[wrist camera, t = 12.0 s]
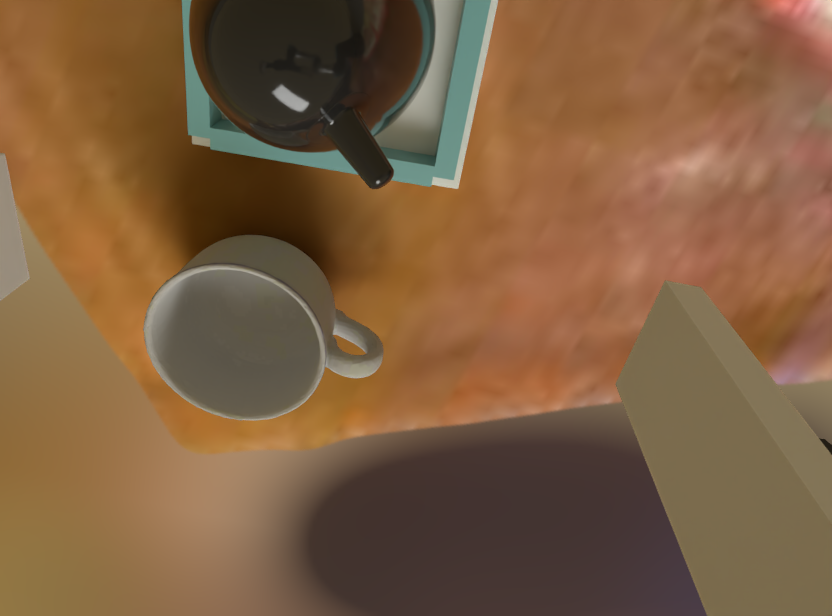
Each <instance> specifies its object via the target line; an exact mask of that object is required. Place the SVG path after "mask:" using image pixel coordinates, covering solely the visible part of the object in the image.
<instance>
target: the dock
mask: <svg viewBox="0 0 832 616" xmlns="http://www.w3.org/2000/svg"><path fill="white" fill-rule="evenodd" d="M497 4H498V0H434V5H435V14H436V38H435V47H434V52H433V57H432V61H431V65H430V68H429V71H428V74H427V76H426V79H425V81H424V83H423V85H422V87H421V89H420V91H419V92H418V94H417V96H416V97H415V99H414V100H413V102H412V103H411V104H410V106H409V107H408V108H407V109H406V110H405V112H404V113H403V114H402V115H401V116H400V117H399V118H398V119H397V120H396V121H395V122H394V123H392V124H391V125H390V126H389V127H388V128H386V129H385V130H384V131H382V132H381V133H380V134H378V135H376V136H375V137H374V138H375V139H376V141H377V143H378V144H379V146H380V148H381V149H382V151H383V152H384V154H385V156H386V157H387V159H388V161H389V162H390V164H391V165H392V167H393V169H394V176H393V178H392V179H391V180H394V181H399V182H405V183H411V184H417V185H423V186H429V187H431V185H437V186H443V187H449V188H455V189H458V187H459V182H460V177H461V173H462V168H463V163H464V158H465V154H466V149H467V144H468V140H469V135H470V130H471V126H472V121H473V116H474V112H475V107H476V102H477V97H478V93H479V88H480V83H481V79H482V74H483V69H484V65H485V60H486V55H487V51H488V46H489V41H490V36H491V32H492V27H493V22H494V18H495V13H496V8H497ZM190 5H191V0H182V15H183V36H184V58H185V79H186V100H187V122H188V135H191V136H192V144H196V145H202V146H208V147H210V149H211V150H217V151H223V152H229V153H235V154H240V155H246V156H252V157H258V158H264V159H270V160H276V161H282V162H288V163H293V164H299V165H305V166H311V167H317V168H323V169H329V170H335V171H341V172H346V173H352V174H358V173H357V172H356V171H355V170H354V168H353V167H352V166H351V165H350V164H349V163H348V161H347V160H346V159H345V158H344V157H343V155H342V154H341V153H340V152H339V151H334V152H325V153H304V152H294V151H288V150H284V149H280V148H276V147H273V146H270V145H267V144H265V143H262V142H260V141H258V140H256V139H254V138H252V137H251V136H249V135H247V134H246V133H244V132H243V131H241V130H240V129H239V128H237V127H236V126H235V125H234V124H232V123H231V122H230V121H229V120H228V119H227V118H226V117H225V116H224V115H223V114H222V113H221V112H220V111H219V109H218V108H217V107H216V106H215V104H214V103H213V102H212V100H211V99H210V97H209V96H208V94H207V92H206V91H205V89H204V87H203V85H202V83H201V81H200V78H199V76H198V73H197V71H196V68H195V65H194V61H193V57H192V52H191V46H190V38H189V14H190ZM358 175H359V174H358Z"/></svg>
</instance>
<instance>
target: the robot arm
mask: <svg viewBox="0 0 832 616" xmlns="http://www.w3.org/2000/svg"><path fill="white" fill-rule="evenodd" d="M27 280H29V272H28V267H27V262H26V257H25V252H24V247H23V242H22V237H21V232H20V227H19V223H18V217H17V212H16V207H15V202H14V197H13V192H12V187H11V182H10V177H9V172H8V167H7V162H6V157H5V154H3V153H0V301H1V300H2V299H3V298H5V297H6V296H7V295H9V294H10V293H11V292H13V291H14V290H15V289H17V288H18V287H19V286H21V285H22V284H23V283H25V282H26V281H27ZM616 387H617V389H618V392H619V395H620V397H621V400H622V402H623V405H624V407H625V410H626V412H627V415H628V417H629V420H630V422H631V425H632V427H633V430H634V432H635V435H636V437H637V440H638V442H639V445H640V447H641V450H642V453H643V455H644V458H645V460H646V462H647V465H648V467H649V470H650V473H651V475H652V478H653V480H654V483H655V485H656V488H657V490H658V493H659V495H660V498H661V500H662V503H663V505H664V508H665V510H666V513H667V515H668V518H669V520H670V523H671V525H672V528H673V531H674V533H675V536H676V538H677V541H678V543H679V546H680V548H681V551H682V553H683V556H684V558H685V561H686V563H687V566H688V568H689V571H690V573H691V576H692V579H693V581H694V584H695V586H696V589H697V591H698V594H699V596H700V599H701V601H702V604H703V606H704V609H705V611H706V614H707V616H832V445H831V444H830V443H828V442H827V441H826V440H825V439H820V438H818V437H817V435H816V434H815V433H814V432H813V430H812V429H811V428H810V426H809V425H808V424H807V423H806V421H805V420H804V419H803V417H802V416H801V415H800V414H799V412H798V411H797V410H796V409H795V407H794V406H793V405H792V403H791V402H790V401H789V400H788V398H787V397H786V396H785V394H784V393H783V392H782V391H781V389H780V388H779V387H778V385H777V384H776V383H775V381H774V380H773V379H772V378H771V376H770V375H769V374H768V373H767V371H766V370H765V369H764V367H763V366H762V365H761V364H760V362H759V361H758V360H757V358H756V357H755V356H754V355H753V353H752V352H751V351H750V349H749V348H748V347H747V346H746V344H745V343H744V342H743V340H742V339H741V338H740V337H739V335H738V334H737V333H736V331H735V330H734V329H733V328H732V326H731V325H730V324H729V322H728V321H727V320H726V319H725V317H724V316H723V315H722V314H721V312H720V311H719V310H718V308H717V307H716V306H715V305H714V303H713V302H712V301H711V299H710V298H709V297H708V296H707V294H706V293H705V292H704V290H703V289H702V288H701V287H697V286H691V285H686V284H681V283H676V282H671V281H665V282H664V284H663V286H662V288H661V290H660V292H659V294H658V296H657V298H656V301H655V303H654V305H653V307H652V309H651V311H650V313H649V315H648V317H647V319H646V321H645V324H644V326H643V328H642V330H641V332H640V334H639V336H638V338H637V340H636V342H635V344H634V347H633V349H632V351H631V353H630V355H629V357H628V359H627V361H626V363H625V365H624V367H623V370H622V372H621V374H620V376H619V378H618V380H617V382H616Z"/></svg>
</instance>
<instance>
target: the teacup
mask: <svg viewBox="0 0 832 616" xmlns="http://www.w3.org/2000/svg"><path fill="white" fill-rule="evenodd" d="M143 330H144V337H145V344H146V348H147V352H148V354H149V356H150V359H151V361H152V364H153V366H154V367H155V369H156V370H157V372H158V373H159V375H160V376H161V377H162V379H163V380H164V381H165V382H166V383H167V385H169V386H170V387H171V388H172V389H173V390H174V391H175V392H176V393H178V394H179V395H180V396H181V397H183V398H184V399H185V400H186V401H188V402H190V403H192V404H193V405H195V406H196V407H199V408H201V409H203V410H204V411H207V412H209V413H212V414H215V415H218V416H221V417H225V418H230V419H237V420H264V419H271V418H275V417H278V416H281V415H283V414H286V413H289V412H291V411H292V410H294V409H296V408H298V407H299V406H300V405H301V404H303V403H304V402H305V401H306V400H307V399H308V398H309V397H310V396H311V395H312V394H313V392H314V391H315V389H316V388H317V386H318V384H319V382H320V380H321V378H322V376H323V373H324V369H325V367H328V368H329V369H331V370H332V371H334V372H335V373H337V374H340V375H342V376H346V377H350V378H363V377H367V376H370V375H371V374H373V373H374V372H375V371H376V370H377V369H378V368H379V366H380V365H381V362H382V358H383V345H382V342H381V341H380V339H379V337H378V336H377V335H376V334H375V333H374V332H372V331H371V330H370V329H369V328H367V327H365V326H364V325H362V324H360V323H358V322H356V321H354V320H352V319H350V318H348V317H347V316H346V315H345V314H344V313H343V312H342V311H340V310H338V309H335V303H334V297H333V293H332V290H331V287H330V285H329V282H328V280H327V278H326V277H325V275H324V273H323V272H322V271H321V269H320V268H319V267H318V265H317V264H316V263H315V262H314V261H313V260H312V259H311V258H310V257H309V256H307V255H306V254H305V253H304V252H302V251H301V250H300V249H298V248H296V247H294V246H293V245H291V244H289V243H287V242H285V241H282V240H279V239H276V238H272V237H268V236H263V235H241V236H234V237H230V238H226V239H223V240H221V241H218V242H216V243H214V244H212V245H210V246H209V247H207V248H205V249H204V250H203V251H201V252H200V253H199V254H197V255H196V256H195V257H194V258H193V259H192V260H190V261H189V262H188V263H187V264H186V265H185V266H184V267H183V268H182V269H181V270H180V271H179V272H178V273H177V274H176V275H174V276H173V277H172V278H170V279H169V280H167V281H166V282H165V283H164V284H163V285H162V286H161V287H160V288H159V290H158V291H157V292H156V294H155V295H154V296H153V298H152V300H151V303H150V305H149V307H148V309H147V313H146V317H145V321H144V329H143ZM334 334H336V335H338V336H340V337H342V338H344V339H346V340H348V341H351V342H353V343H354V344H356V345H357V346H359V347H360V348H361V349H363V350H364V351H365V352H366V353H367V354H365V355H351V354H348V353H345V352H343V351H342V350H341V349H340V348H339V347H338V346H337V342H336V339H335V338H334V337H333V335H334Z"/></svg>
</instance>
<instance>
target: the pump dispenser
mask: <svg viewBox="0 0 832 616" xmlns="http://www.w3.org/2000/svg"><path fill="white" fill-rule="evenodd" d="M189 38H190V46H191V52H192V57H193V61H194V65H195V68H196V71H197V73H198V76H199V78H200V81H201V83H202V85H203V87H204V89H205V91H206V92H207V94H208V96H209V97H210V99H211V100H212V102H213V103H214V104H215V106H216V107H217V108H218V109H219V111H220V112H221V113H222V114H223V115H224V116H225V117H226V118H227V119H228V120H229V121H230V122H231V123H232V124H234V125H235V126H236V127H237V128H239V129H240V130H241V131H243V132H244V133H246V134H247V135H249V136H251V137H252V138H254V139H256V140H258V141H260V142H262V143H265V144H267V145H270V146H273V147H276V148H280V149H284V150H288V151H294V152H304V153H325V152H334V151H339V152H340V153H341V154H342V155H343V157H344V158H345V159H346V160H347V161H348V163H349V164H350V165H351V166H352V167H353V168H354V170H355V171H356V172H357V173H358V174H359V176H360V177H361V178H362V179H363V180H364V181H365V183H366V184H367V185H368V186H369V187H370V188H371V189H379V188H381V187H383V186H385V185H386V184H387V183H389V182H390V181H391V179H392V178H393V176H394V169H393V167H392V165H391V164H390V162H389V161H388V159H387V157H386V156H385V154H384V152H383V151H382V149H381V148H380V146H379V144H378V143H377V141H376V139H375V138H374V137H375V136H376V135H378V134H380V133H381V132H382V131H384V130H385V129H386V128H388V127H389V126H390V125H391V124H392V123H394V122H395V121H396V120H397V119H398V118H399V117H400V116H401V115H402V114H403V113H404V112H405V110H406V109H407V108H408V107H409V106H410V104H411V103H412V102H413V100H414V99H415V97H416V96H417V94H418V92H419V91H420V89H421V87H422V85H423V83H424V81H425V79H426V76H427V74H428V71H429V68H430V65H431V61H432V57H433V52H434V47H435V38H436V14H435V5H434V0H191V5H190V14H189Z"/></svg>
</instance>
